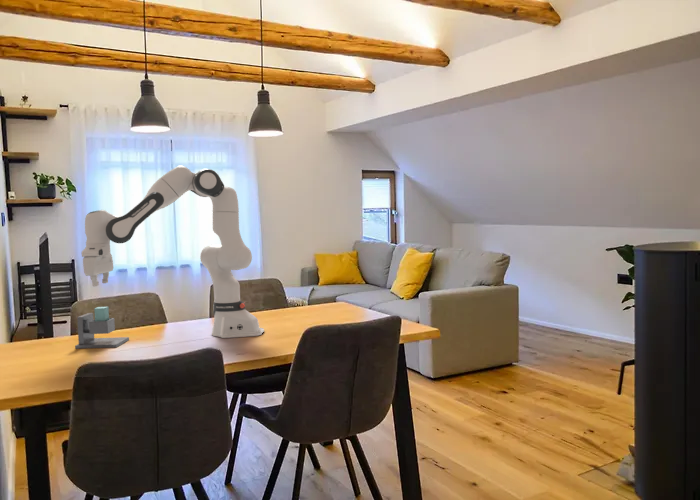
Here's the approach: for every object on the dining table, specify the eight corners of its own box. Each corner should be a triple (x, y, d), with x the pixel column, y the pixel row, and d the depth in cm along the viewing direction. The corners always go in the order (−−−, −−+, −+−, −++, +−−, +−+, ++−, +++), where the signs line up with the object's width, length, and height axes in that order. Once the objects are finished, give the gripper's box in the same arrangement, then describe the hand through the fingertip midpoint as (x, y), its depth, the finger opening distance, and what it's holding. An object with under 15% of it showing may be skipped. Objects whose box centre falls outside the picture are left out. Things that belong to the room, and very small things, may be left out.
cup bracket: (129, 340, 236) (127, 311, 235) (116, 347, 222) (115, 316, 221) (90, 341, 236) (89, 312, 235) (75, 348, 222) (73, 317, 221)
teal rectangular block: (109, 328, 231) (108, 306, 230) (105, 330, 227) (104, 308, 226) (99, 328, 230) (98, 307, 230) (95, 330, 226) (94, 308, 226)
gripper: (101, 249, 237) (103, 281, 238) (79, 252, 217) (81, 288, 218) (116, 248, 237) (118, 281, 238) (95, 252, 217) (98, 287, 218)
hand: (100, 284), depth 228 cm, fingers open, 8 cm apart
